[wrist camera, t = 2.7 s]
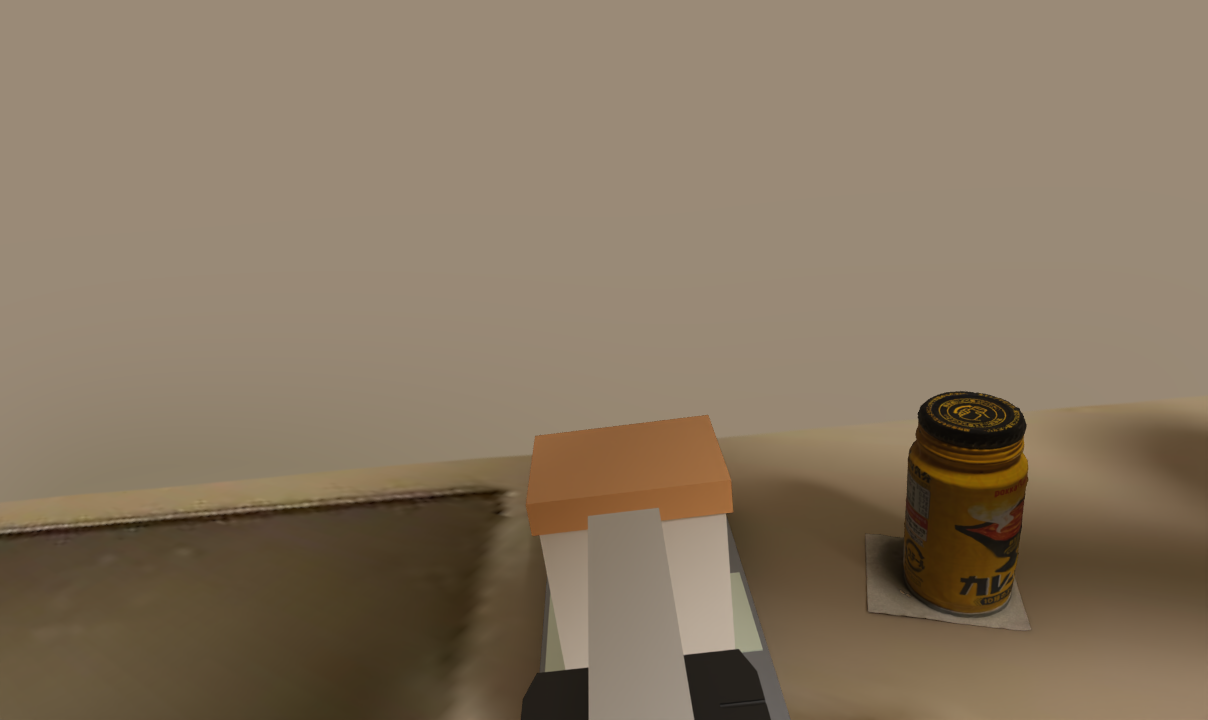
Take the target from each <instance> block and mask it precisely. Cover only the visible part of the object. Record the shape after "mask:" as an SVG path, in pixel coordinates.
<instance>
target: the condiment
mask: <svg viewBox="0 0 1208 720" xmlns="http://www.w3.org/2000/svg"><path fill="white" fill-rule="evenodd" d="M918 419H919V421H918V428H917V430H916V439H917V440H916V441H915V442H914V443H913V444H912V446H911V448H910V450H909V457H908V475H907V497H906V515H905V523H904V525H905V532H904V538H900V537H891V536H886V535H881V534H865V540H866V570H867V597H868V612H874V613H886V614H891V615H906V616H910V617H917V618H928V619H935V620H940V621H946V622H952V623H959V624H971V625H977V626H986V627H992V628H1005V629H1010V630H1023V631H1024V630H1031V627H1030V623H1029V620H1028V617H1027V614H1026V611H1025V608H1024V605H1023V602H1022V599H1021V595H1020V593H1019V590H1018V586H1017V583H1016V579H1015V569H1016V565H1017V558H1018V554H1019V553H1018V547H1019V541H1020V533H1021V528H1022V514H1023V506H1024V499H1025V490H1026V486H1027V482H1028V476H1027V473H1028V460H1027V459H1026V457H1025V455H1024V454H1023V450H1024V440H1023V439H1024V434H1025V430H1026V422H1025V419H1024V416H1023V414H1022V413H1021V411H1020V409H1019V408H1017V407H1015V406H1014V405H1013V404H1011V403H1009V402H1008V401H1006V400H1003V399H1001V398H997V397H994V396H991V395H987V394H981V393H973V392H963V391H960V392H946V393H943V394H940V395H937V396H934V397H932V398H930V399H929V400H927V401H926V402H925V403H924V404H923V405H922V406H921V407H920V410H919V412H918ZM900 590H901V591H903V592H904V593H905V594H902V593H901V592H900ZM906 594H909V595H910V596H911V597H908V596H907V595H906Z"/></svg>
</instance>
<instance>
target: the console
mask: <svg viewBox="0 0 1208 720" xmlns="http://www.w3.org/2000/svg"><path fill="white" fill-rule="evenodd" d="M726 520H727V535H728V550H729V564H730V579H731V593H732V608H733V622H734V637H735V649H739V650H740V651H741V652H742V654H743V655H744V656H745V657H746V658H747V659H748V661H749V662H750V663H751V664H752V665H753V667H754V668H755V669H756V670H757V672H758V676H759V679H760V683H761V686H762V690H763V693H764V697H765V702H766V704H767V707H768V711H769V714H770V718H771V720H791V719H790V716H789V713H788V710H787V707H786V704H785V700H784V697H783V694H782V691H781V688H780V684H779V681H778V678H777V675H776V672H775V669H774V665H773V662H772V659H771V656H770V653H769V649H768V646H767V643H766V640H765V637H764V634H763V630H762V627H761V624H760V621H759V618H758V614H757V611H756V608H755V605H754V602H753V599H752V595H751V592H750V589H749V586H748V583H747V579H746V576H745V573H744V570H743V567H742V564H741V560H740V557H739V554H738V551H737V548H736V544H735V541H734V538H733V535H732V532H731V529H730V525H729V522H728V519H727V516H726ZM560 670H565V664H564V659H563V654H562V649H561V644H560V639H559V634H558V628H557V623H556V618H555V613H554V608H553V603H552V597H551V592H550V587H549V582H548V577H547V583H546V596H545V609H544V622H543V636H542V649H541V662H540V673H542V672H551V671H560Z"/></svg>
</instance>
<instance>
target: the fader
mask: <svg viewBox="0 0 1208 720" xmlns="http://www.w3.org/2000/svg"><path fill="white" fill-rule="evenodd" d="M526 508H527V513H528V518H529V523H530V528H531V533H532V536H537V535H539V536H540V541H541V546H542V551H543V556H544V561H545V566H546V572H547V577H548V582H549V587H550V592H551V597H552V603H553V608H554V613H555V618H556V623H557V628H558V634H559V639H560V644H561V649H562V654H563V659H564V664H565V670H569V669H578V668H587V667H588V516H592V515H601V514H609V513H618V512H626V511H635V510H644V509H652V508H659V511H660V517H661V523H662V529H663V535H664V542H665V548H666V554H667V560H668V566H669V572H670V578H671V584H672V590H673V596H674V602H675V608H676V614H677V620H678V626H679V632H680V638H681V644H682V650H683V655H688V654H697V653H706V652H715V651H724V650H733V649H735V637H734V622H733V608H732V593H731V579H730V564H729V550H728V535H727V520H726V513H731V512H733V501H732V485H731V478H730V475H729V472H728V470H727V467H726V464H725V461H724V458H723V455H722V453H721V450H720V447H719V444H718V441H717V438H716V436H715V433H714V430H713V427H712V424H711V421H710V419H709V416H708V415H703V416H695V417H687V418H678V419H670V420H662V421H654V422H646V423H638V424H629V425H622V426H613V427H605V428H597V429H588V430H580V431H572V432H564V433H556V434H548V435H539V436H535V442H534V448H533V456H532V463H531V470H530V477H529V485H528V492H527V499H526Z"/></svg>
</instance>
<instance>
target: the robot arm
mask: <svg viewBox="0 0 1208 720" xmlns="http://www.w3.org/2000/svg"><path fill="white" fill-rule="evenodd" d="M521 720H771V718H770V714H769V711H768V707H767V704H766V702H765V697H764V693H763V690H762V686H761V683H760V679H759V676H758V672H757V670H756V669H755V668H754V667H753V665H752V664H751V663H750V662H749V661H748V659H747V658H746V657H745V656H744V655H743V654H742V652H741V651H740V650H739V649H733V650H724V651H715V652H706V653H697V654H688V655H683V650H682V644H681V638H680V632H679V626H678V620H677V614H676V608H675V602H674V596H673V590H672V584H671V578H670V572H669V566H668V560H667V554H666V548H665V542H664V535H663V529H662V523H661V517H660V511H659V508H652V509H644V510H635V511H626V512H618V513H609V514H601V515H592V516H588V667H587V668H578V669H569V670H560V671H551V672H542V673H537V674H536V676H535V678H534V680H533V682H532V683H531V685H530V687H529V689H528V691H527V693H526V694H525V696H524V698H523V704H522V714H521Z"/></svg>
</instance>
